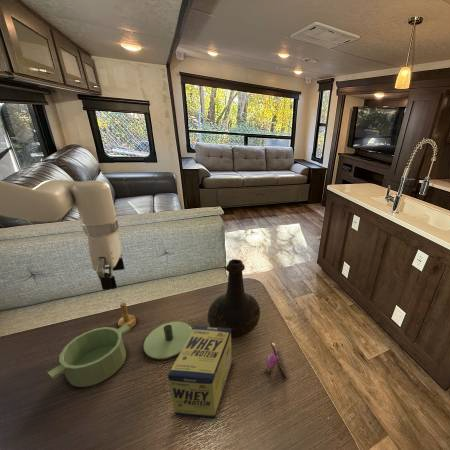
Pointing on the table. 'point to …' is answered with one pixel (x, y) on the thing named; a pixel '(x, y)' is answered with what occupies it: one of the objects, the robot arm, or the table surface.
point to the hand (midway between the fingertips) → (114, 278)
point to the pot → (92, 356)
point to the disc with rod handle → (126, 317)
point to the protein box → (201, 372)
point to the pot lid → (167, 340)
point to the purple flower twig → (274, 360)
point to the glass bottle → (235, 305)
